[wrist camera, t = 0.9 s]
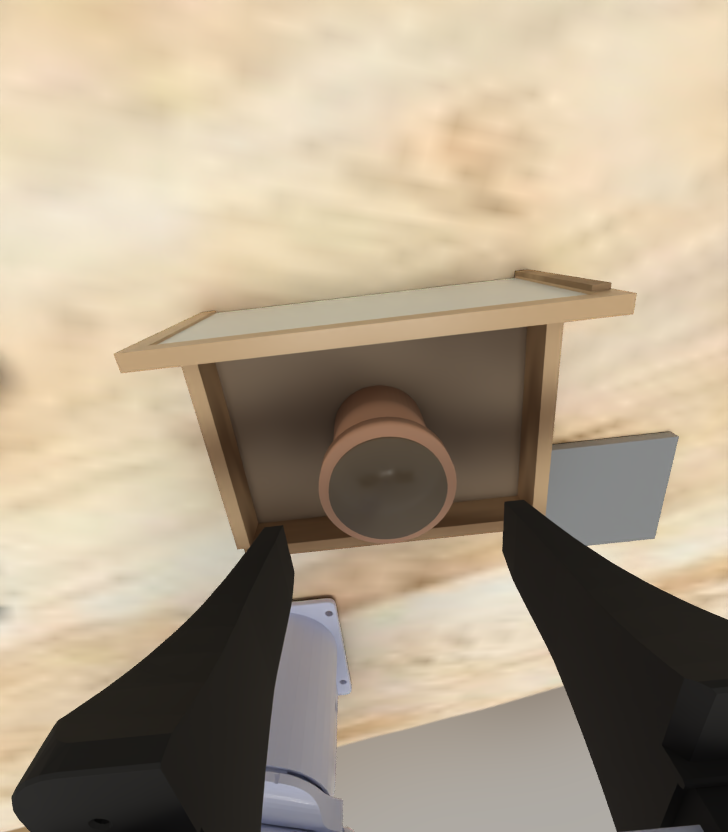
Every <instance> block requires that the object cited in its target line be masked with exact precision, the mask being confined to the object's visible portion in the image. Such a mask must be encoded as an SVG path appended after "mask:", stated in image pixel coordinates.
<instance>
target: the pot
mask: <svg viewBox="0 0 728 832" xmlns="http://www.w3.org/2000/svg"><path fill="white" fill-rule="evenodd" d="M456 487H457V479H456V472H455V468H454V465H453V463H452V461H451V458H450V456H449V454H448V452H447V450H446V448H445V446H444V444H443V443H442V441H441V440H440V439H439V438H438V437H437V436H436V435H435V434H434V433H433V432H432V431H431V430H429V429H428V428H427V427H426V424H425V422H424V419H423V417H422V414H421V412H420V410H419V407H418V406H417V404H416V403H415V401H414V400H413V399H412V398H411V397H410V396H409V395H408V394H406V393H405V392H403V391H401V390H399V389H397V388H394V387H390V386H383V385H377V386H369V387H366V388H362V389H360V390H358V391H356V392H355V393H353V394H352V395H350V396H349V397H348V398H347V399H346V400H345V401H344V402H343V403H342V405H341V406H340V408H339V410H338V412H337V415H336V418H335V425H334V436H333V442H332V443H331V445H330V446H329V448H328V449H327V451H326V453H325V455H324V458H323V461H322V464H321V469H320V477H319V498H320V501H321V505H322V507H323V509H324V511H325V513H326V515H327V516H328V518H329V519H330V520H331V521H332V522H333V524H335V525H336V526H337V527H338V528H339V529H340V530H342V531H343V532H345V533H346V534H348V535H350V536H352V537H354V538H357V539H359V540H363V541H366V542H372V543H382V544H388V543H398V542H403V541H407V540H410V539H413V538H416V537H418V536H420V535H422V534H424V533H426V532H427V531H429V530H430V529H432V528H433V527H434V526H435V525H437V524H438V523H439V522H440V521H441V520H442V519H443V518H444V516H445V515H446V513H447V512H448V511H449V509H450V507H451V505H452V503H453V500H454V498H455V493H456Z"/></svg>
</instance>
